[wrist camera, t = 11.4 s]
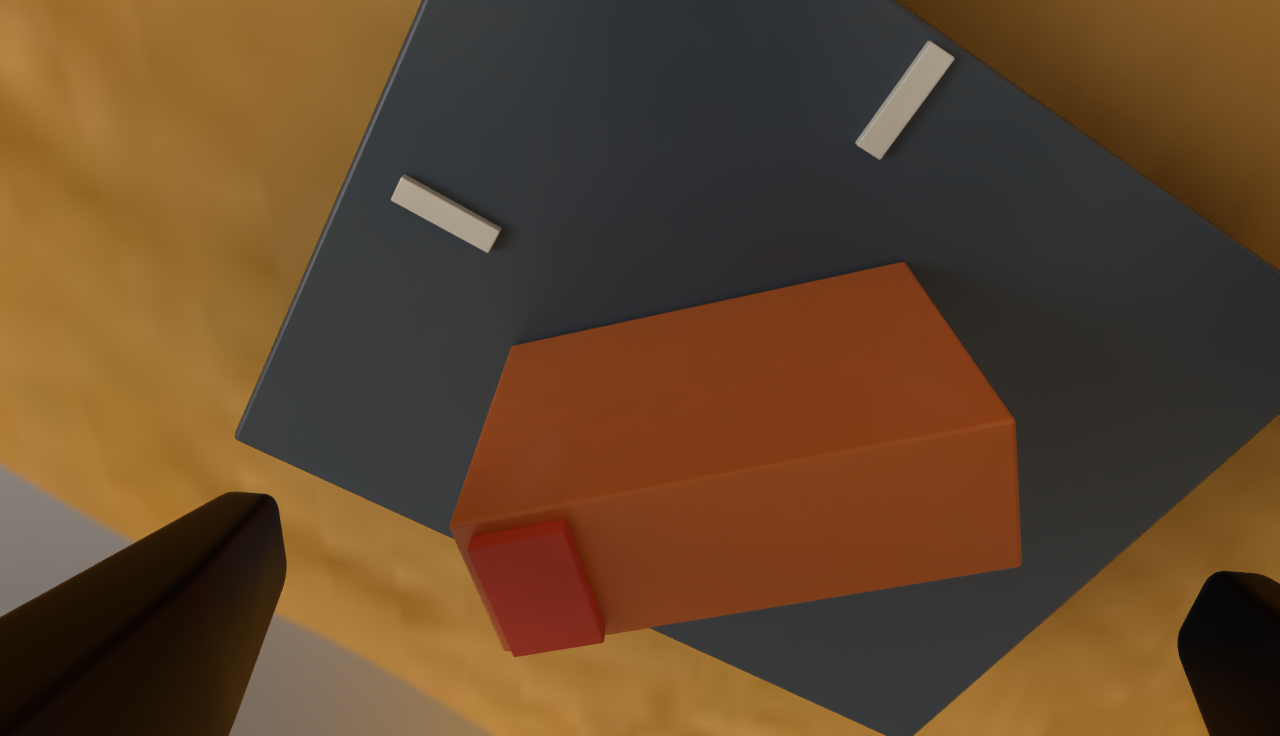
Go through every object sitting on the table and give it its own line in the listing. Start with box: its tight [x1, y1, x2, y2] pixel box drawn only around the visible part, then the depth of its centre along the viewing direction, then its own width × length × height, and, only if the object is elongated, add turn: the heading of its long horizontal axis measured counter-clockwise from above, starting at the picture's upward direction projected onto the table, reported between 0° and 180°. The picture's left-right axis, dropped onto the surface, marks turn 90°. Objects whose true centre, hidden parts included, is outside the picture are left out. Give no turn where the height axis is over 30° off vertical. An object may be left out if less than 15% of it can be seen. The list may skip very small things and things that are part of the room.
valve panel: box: [235, 0, 1280, 736], centre depth 13 cm, size 13×10×3 cm
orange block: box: [450, 262, 1022, 657], centre depth 10 cm, size 6×2×4 cm, turn 104°
